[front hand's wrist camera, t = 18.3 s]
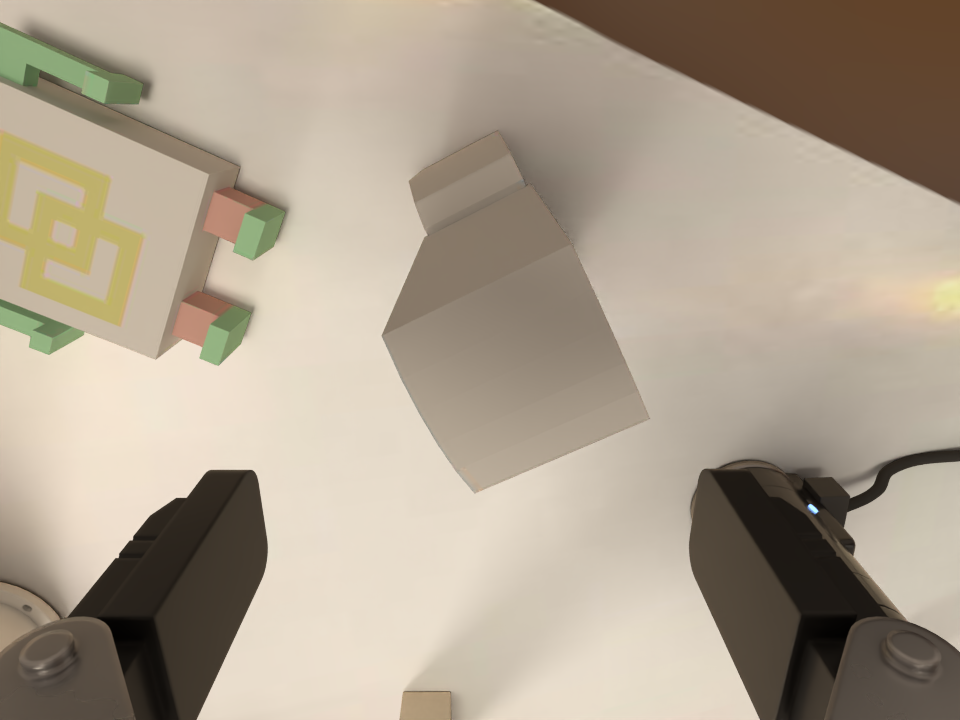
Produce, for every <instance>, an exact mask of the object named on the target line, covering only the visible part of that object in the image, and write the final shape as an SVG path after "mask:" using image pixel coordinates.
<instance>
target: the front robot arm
mask: <svg viewBox="0 0 960 720" xmlns="http://www.w3.org/2000/svg"><path fill="white" fill-rule="evenodd" d="M956 461H960V450H956V451H941V452H929V453H921V454H916V455H911V456H907V457H904V458H901V459H898V460H896V461H894V462H892V463H890V464H888V465H886V466H885V467H883V468H882V469H881V470H880V471H879V473H878V475H877V477H876V480H875V483H874V485H873V486H872V487H871V488H870V489H868V490H867V491H865V492H864V493H862V494H860V495H857V496H855V497H853V498H850V495H849V494H848V493H847V492H846V491H845V490H844V489H843V488H842V487H841V486H840V485H839V484H838V483H837V482H836V481H835V480H834V479H833V478H832V477H824V478H804V482H803V481H802V480H801V478H800V477H799V476H798V475H797V474H785V473H784V472H783V471H782V470H781V469H779V468H778V467H776V466H774V465H772V464H769V463H766V462H761V461H741V462H736V463H732V464H729V465H727V466H724V467H722V468H720V469H704V470H702V472H701V474H700V476H699V480H698V486H697V491H696V493H695V495H694V497H693V500H692V504H691V518H692V526H691V533H690V541H689V554H690V562H691V567H692V571H693V574H694V577H695V579H696V581H697V584H698V586H699V588H700V590H701V592H702V594H703V597H704V599H705V601H706V603H707V605H708V607H709V610H710V612H711V614H712V616H713V618H714V620H715V623H716V625H717V627H718V629H719V631H720V634H721V636H722V638H723V640H724V642H725V644H726V647H727V649H728V651H729V653H730V655H731V657H732V660H733V662H734V664H735V666H736V668H737V671H738V673H739V675H740V677H741V679H742V681H743V684H744V686H745V688H746V690H747V692H748V694H749V697H750V699H751V701H752V703H753V705H754V708H755V710H756V712H757V714H758V716H759V718H760V720H960V652H959V651H958V650H957V649H956V648H955V647H953V646H952V645H951V644H950V643H948V642H947V641H946V640H944V639H942V638H941V637H939V636H938V635H936V634H934V633H933V632H931V631H929V630H927V629H925V628H923V627H920V626H918V625H916V624H913V623H910V622H908V621H907V620H906V619H905V617H904V616H903V615H902V614H901V613H900V611H899V610H898V609H897V608H896V607H895V605H894V604H893V603H892V602H891V601H890V600H889V598H888V597H887V596H886V595H885V594H884V592H883V591H882V590H881V589H880V588H879V586H878V585H877V584H876V583H875V582H874V581H873V579H872V578H871V577H870V576H869V575H868V573H867V572H866V571H865V570H864V569H863V567H862V566H861V565H860V564H859V563H858V561H857V560H856V559H855V558H854V557H853V556H854V551H855V541H854V540H853V538H852V537H851V536H850V535H849V534H848V532H847V531H846V530H845V529H844V524H845V519H846V514H847V512H849V511H851V510H854V509H857V508H859V507H861V506H864V505H866V504H868V503H870V502H872V501H873V500H875V499H876V498H878V497H879V496H880V495H881V494H882V493H883V492H884V491H885V490H886V488H887V486H888V482H889V479H890V477H891V476H892V475H893V474H895V473H897V472H899V471H901V470H904V469H906V468H909V467H913V466H917V465H923V464H930V463H942V462H956ZM267 553H268V544H267V536H266V529H265V522H264V516H263V509H262V503H261V496H260V489H259V483H258V478H257V476H256V473H255V472H254V471H253V470H209V471H208V472H206V473H205V475H204V476H203V477H202V479H201V480H200V481H199V482H198V484H197V485H196V486H195V488H194V489H193V490H192V492H191V493H190V494H189V496H188V497H187V498H176V499H174V500H173V501H171V502H170V503H168V504H167V505H165V506H164V507H162V508H161V509H159V510H158V511H156V512H155V513H153V514H152V515H151V516H150V517H149V518H148V519H147V520H146V521H145V523H144V524H143V525H142V526H141V528H140V529H139V530H138V531H137V533H136V534H135V535H134V536H133V541H129V542H128V544H127V545H126V546H125V547H124V549H123V550H122V551H121V552H120V553H119V558H115V560H114V561H113V562H112V563H111V565H110V566H109V567H108V568H107V569H106V571H105V572H104V573H103V574H102V576H101V577H100V578H99V579H98V580H97V582H96V583H95V584H94V585H93V587H92V588H91V589H90V590H89V592H88V593H87V594H86V595H85V596H84V598H83V599H82V600H81V601H80V603H79V604H78V605H77V606H76V608H75V609H74V610H73V611H72V612H71V614H70V615H69V616H68V617H67V618H64V619H60V620H56V621H53V622H50V623H47V624H44V625H42V626H40V627H37V628H35V629H33V630H31V631H29V632H27V633H26V634H24V635H22V636H21V637H19V638H18V639H16V640H14V641H13V642H12V643H10V644H9V645H8V646H7V647H5V648H4V649H3V650H2V651H1V652H0V720H197V717H198V715H199V713H200V711H201V709H202V707H203V705H204V702H205V700H206V698H207V696H208V694H209V692H210V690H211V687H212V685H213V683H214V681H215V679H216V677H217V674H218V672H219V670H220V668H221V666H222V664H223V662H224V659H225V657H226V655H227V653H228V651H229V649H230V647H231V644H232V642H233V640H234V638H235V636H236V634H237V631H238V629H239V627H240V625H241V623H242V621H243V619H244V616H245V614H246V612H247V610H248V608H249V606H250V604H251V601H252V599H253V597H254V595H255V593H256V591H257V589H258V586H259V584H260V582H261V580H262V578H263V575H264V572H265V568H266V563H267Z"/></svg>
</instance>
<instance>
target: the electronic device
mask: <svg viewBox="0 0 960 720" xmlns="http://www.w3.org/2000/svg"><path fill="white" fill-rule="evenodd" d="M409 184H410V188H411V191H412V195H413V199H414V203H415V205H416V208H417V211H418V213H419V216H420V219H421V221H422V224H423V227H424V229H425V231H426V232H427V234H428V236H426V237H425V238H424V240H423V242H422V244H421V247H420V249H419V251H418V254H417V256H416V258H415V260H414V263H413V265H412V267H411V270H410V272H409V274H408V277H407V279H406V281H405V283H404V286H403V288H402V290H401V293H400V295H399V297H398V299H397V302H396V304H395V306H394V309H393V311H392V313H391V316H390V318H389V320H388V322H387V325H386V327H385V329H384V332H383V334H382V338H383V340H384V342H385V344H386V347H387V349H388V351H389V353H390V355H391V358H392V360H393V362H394V364H395V366H396V369H397V371H398V373H399V375H400V378H401V380H402V382H403V384H404V385H405V387H406V389H407V391H408V393H409V395H410V397H411V399H412V401H413V403H414V404H415V406H416V408H417V410H418V412H419V414H420V416H421V417H422V419H423V421H424V422H425V424H426V426H427V427H428V429H429V431H430V432H431V434H432V436H433V437H434V439H435V441H436V442H437V444H438V446H439V447H440V449H441V450H442V452H443V453H444V455H445V456H446V457H447V459H448V460H449V462H450V463H451V465H452V466H453V468H454V469H455V471H456V472H457V473H458V474H459V475H460V477H461V478H462V479H463V480H464V481H465V483H466V484H467V485H468V486H469V487H470V489H471V490H472V491H473V492H474V493H477V492H479V491H482V490H484V489H486V488H489V487H491V486H493V485H496V484H498V483H500V482H503V481H505V480H507V479H510V478H512V477H514V476H517V475H519V474H521V473H524V472H526V471H529V470H531V469H533V468H536V467H538V466H540V465H543V464H545V463H547V462H550V461H552V460H554V459H557V458H559V457H561V456H564V455H566V454H568V453H571V452H573V451H576V450H578V449H580V448H583V447H585V446H587V445H590V444H592V443H594V442H597V441H599V440H601V439H604V438H606V437H608V436H611V435H613V434H616V433H618V432H620V431H623V430H625V429H627V428H630V427H632V426H634V425H637V424H639V423H641V422H644V421H646V420H648V419H650V418H649V416H648V413H647V411H646V408H645V406H644V404H643V401H642V399H641V396H640V394H639V392H638V389H637V387H636V385H635V382H634V380H633V378H632V375H631V373H630V371H629V368H628V366H627V364H626V362H625V359H624V357H623V355H622V353H621V350H620V348H619V346H618V344H617V341H616V339H615V337H614V335H613V332H612V330H611V328H610V326H609V323H608V321H607V319H606V317H605V315H604V312H603V310H602V308H601V306H600V304H599V302H598V299H597V297H596V295H595V293H594V291H593V288H592V286H591V284H590V282H589V280H588V278H587V275H586V273H585V271H584V269H583V267H582V265H581V263H580V260H579V258H578V256H577V254H576V252H575V250H574V248H573V245H572V243H571V242H570V240H569V239H568V238H567V236H566V235H565V233H564V232H563V230H562V229H561V227H560V226H559V224H558V223H557V222H556V220H555V219H554V217H553V216H552V214H551V213H550V211H549V210H548V208H547V207H546V206H545V204H544V203H543V201H542V200H541V198H540V197H539V195H538V194H537V192H536V191H535V190H534V188H533V187H532V185H531V184H528V185H525V182H524V180H523V178H522V176H521V174H520V172H519V170H518V167H517V165H516V163H515V161H514V159H513V157H512V155H511V153H510V151H509V149H508V147H507V146H506V144H505V142H504V140H503V138H502V137H501V135H500V133H499V131H498V130H497V131H496V132H494V133H492V134H490V135H488V136H486V137H484V138H482V139H480V140H479V141H477V142H475V143H473V144H471V145H469V146H467V147H465V148H463V149H461V150H460V151H458V152H456V153H454V154H452V155H450V156H448V157H446V158H444V159H443V160H441V161H439V162H437V163H435V164H433V165H431V166H429V167H427V168H425V169H424V170H422V171H421V172H420V173H418V174H417V175H416V176H415V177H413V178H412V179H411V180H410V181H409Z"/></svg>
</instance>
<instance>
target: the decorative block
mask: <svg viewBox="0 0 960 720" xmlns="http://www.w3.org/2000/svg"><path fill="white" fill-rule="evenodd" d="M40 70H42V71H44V72H47V73H49V74H51V75H53V76H55V77H58V78H60V79H62V80H64V81H67V82H69V83H71V84H73V85H75V86H78V87H80V88H82V92H81V94H84V95H86V96H88V97H90V98H93V99H95V100H97V101H99V102H101V103H104V104H139V100H140V96H141V92H142V88H143V83H141V82H139V81H136V80H134V79H132V78H130V77H128V76H125V75H123V74H115V73H110V72H108V71H106V70H103V69H101V68H99V67H97V66H95V65H92V64H90V63H88V62H86V61H84V60H81V59H79V58H77V57H75V56H73V55H71V54H68V53H66V52H64V51H62V50H60V49H57V48H55V47H53V46H51V45H49V44H46V43H44V42H42V41H40V40H38V39H36V38H33V37H31V36H29V35H27V34H25V33H22V32H20V31H18V30H16V29H14V28H11V27H9V26H7V25H5V24H3V23H1V22H0V325H3V326H5V327H8V328H11V329H13V330H16V331H18V332H21V333H24V334H26V335H29V336H31V339H30V344H29V347H30V348H32V349H35V350H37V351H40V352H43V353H45V354H48V355H50V354H51V353H53V352H55V351H57V350H58V349H60V348H62V347H64V346H65V345H67V344H69V343H71V342H72V341H74V340H76V339H78V338H80V337H81V336H83V335H84V332H86V333H89V334H91V335H94V336H97V337H99V338H102V339H104V340H107V341H109V342H112V343H114V344H117V345H120V346H122V347H125V348H127V349H130V350H132V351H135V352H137V353H140V354H143V355H145V356H148V357H150V358H153V359H155V360H156V359H157V358H159V357H160V356H161V355H162V354H164V353H165V352H166V351H168V350H169V349H170V348H172V347H173V346H174V345H175V344H177V343H178V342H179V341H181V340H182V339H184V340H186V341H189V342H191V343H194V344H196V345H199V346H201V347H203V348H202V351H201V355H200V359H203V360H205V361H208V362H210V363H213V364H215V365H218V366H219V365H220V364H221V363H222V362H223V361H224V360H225V359H226V358H227V357H228V356H229V355H230V354H231V353H232V352H233V351H234V350H235V349H236V348H237V347H238V346H239V345H240V344H241V342H242V339H243V336H244V333H245V330H246V327H247V324H248V321H249V318H250V315H251V312H248V311H246V310H243V309H241V308H239V307H236V306H234V305H231V304H229V303H226V302H224V301H222V300H219V299H217V298H214V297H212V296H209V295H207V294H205V293H202V291H203V287H204V284H205V281H206V277H207V274H208V271H209V268H210V264H211V261H212V258H213V254H214V251H215V248H216V245H217V241H218V238H219V237H221V238H223V239H226V240H228V241H230V242H233V243H235V247H234V250H233V252H234V253H237V254H239V255H241V256H244V257H246V258H248V259H251V260H254V259H256V258H258V257H259V256H261V255H262V254H264V253H265V252H267V251H268V250H270V249H271V248H273V247H274V244H275V241H276V238H277V235H278V233H279V230H280V227H281V224H282V221H283V218H284V215H285V211H283V210H280V209H278V208H276V207H274V206H271V205H269V204H267V203H265V202H262V201H260V200H258V199H255V198H253V197H251V196H249V195H246V194H244V193H242V192H240V191H237V190H235V189H234V185H235V182H236V179H237V176H238V172H239V169H240V167H239V166H237V165H234V164H232V163H230V162H228V161H225V160H223V159H221V158H219V157H217V156H214V155H212V154H210V153H208V152H205V151H203V150H201V149H199V148H196V147H194V146H192V145H190V144H188V143H185V142H183V141H181V140H179V139H176V138H174V137H172V136H170V135H167V134H165V133H163V132H161V131H158V130H156V129H154V128H152V127H150V126H147V125H145V124H143V123H141V122H138V121H136V120H134V119H132V118H129V117H127V116H125V115H123V114H121V113H118V112H116V111H114V110H112V109H109V108H107V107H105V106H103V105H100V104H98V103H96V102H94V101H92V100H89V99H87V98H85V97H83V96H80V95H78V94H76V93H74V92H71V91H69V90H67V89H65V88H63V87H60V86H58V85H56V84H54V83H51V82H49V81H47V80H45V79H42V78H40V77H39V73H40Z"/></svg>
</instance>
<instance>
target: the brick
mask: <svg viewBox="0 0 960 720" xmlns="http://www.w3.org/2000/svg"><path fill="white" fill-rule="evenodd" d="M400 720H451V693H450V692H403V697H402V705H401V712H400Z"/></svg>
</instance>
